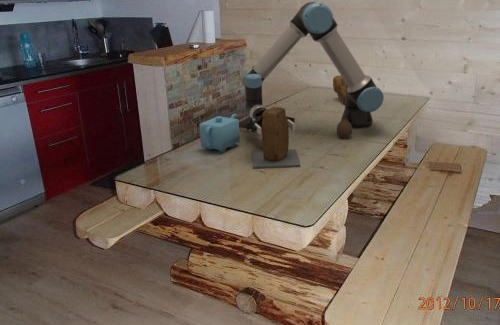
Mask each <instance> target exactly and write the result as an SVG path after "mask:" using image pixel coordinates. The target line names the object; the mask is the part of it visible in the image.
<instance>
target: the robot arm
mask: <svg viewBox="0 0 500 325" xmlns="http://www.w3.org/2000/svg"><path fill="white" fill-rule="evenodd" d="M308 34H309V35H310V36H309V37H311V39H312V40H313V42H317V43H319V44H320V46H321V47H322V49H323V50H324V51H325V53H326V55H327V56H328V58H329V60H330V61H331V62H332V64H333V65H334V68H336V70H337V72H338V73H339V74H340V75H339V76H342V78H343V79H344V81H345V82H346V96H345V104H344V111H343V113H342V116H341V117H340V121H341V120H342V118H347V119H348V121H349V122H350V124H351V126H352V129H364V128H369V127H371V126H373V122H374V120H373V119H374V118H373V117H372V113H373V112H376V111H378V109H379V108H380V107H381V106H382V105H383V103H384V99H385V98H384V92H382V89H380V87H377V85H376V83H375V82H374V80H373V78H372V77H371V76H370V75H367V74H365V72H364V71H363V70H362V68H361V67H360V65H359V63H358V62H357V60H356V59H355V56H353V54H352V52H351V51H350V49H349V48H348V45H346V44H347V43H345V41H344V39H343V38H342V37H341V35H340V33H339V31H338V23H337V21H336V19H335V18H334V15H333V11H332V9H331V8H330V7H329V6H328V5H327V4H325V3H323V2H314V1H309V2H307V3H304V4H303V6H301V7H300V8H299V10H298V11H297V12H296V13H295V15H294V16H293V18H292V19H291V20H290V21H289V26H288V27H287V28H286V29H285V30H284V32H282V34H281V35H280V36H279V37H278V38H277V40H276V41H275V42H274V43H273V44H272V46H271V47H270V48H269V49H268V50H267V51H266V52H265V54H264V55H263V56H262V57H261V58H260V59H259V60H258V61H257V63H256V64H255V65H254V66H253V68H252V69H251V70H250V71H249V72H247V73H245V75H244V76H243V78H242V84H243V87H244V96H245V98H244V101H245V103H244V104H243V111H244V114H245V115H246V116H247V118H248V117H249V120H248V122H247V123H246V129H247V130H250V129H251V131H250V132H252V133H257V134H258V135H259V136H262V133H261V127H260V126H262V121H263V112H264V111H265V110H267V109H268V108H266V107H265V106H264V105H263V83H264V81H265V80H266V79H267V78H268V76H269V75H270V74H272V72H273V71H274V70H275V69H276V67H277V66H278V65H279V64H280V63H281V62H282V60H283V59H285V57H286V56H287V55H288V54H289V53H290V52H291V50H293V48H294V47H295V46H296V45H297V44H298V43H299V41H300V40H301V39H302V38H306V36H308ZM371 78H372V79H371ZM286 117H287V121H288V129H290V130H291V131H295V130H296V123H295V122H296V120H295V117H291V116H288V115H286ZM254 131H256V132H254Z"/></svg>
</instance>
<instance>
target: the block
mask: <svg viewBox="0 0 500 325" xmlns="http://www.w3.org/2000/svg"><path fill="white" fill-rule="evenodd" d="M266 109H267V110H265V111H264V112H263V121H262V133H261V142H262V145H261V147H262V150H263V157H264V158H265V159H268V160H271V161H277V160H281V159H283V158H284V157H285V156H286V154H287V152H288V149H289V144H290V142H289V141H290V140H289V139H290V138H289V137H290V136H289V135H290V130H289V129H290V128H289V127H288V121H287V117H288V116H287V115H286V109H285V108H284V107H280V106H277V107H276V106H272V107H269V108H266ZM286 116H287V117H286Z"/></svg>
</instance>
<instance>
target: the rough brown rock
mask: <svg viewBox="0 0 500 325" xmlns="http://www.w3.org/2000/svg"><path fill="white" fill-rule="evenodd" d="M371 79H372V80H373V78H372V77H371ZM332 87H333V91H334V92H335V93H336V94H337V97H338V99H339V101H341V105H345V96H346V82H345V81H344V79H343V78H342V76H341V75H335V76H334V77H333V79H332Z"/></svg>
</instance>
